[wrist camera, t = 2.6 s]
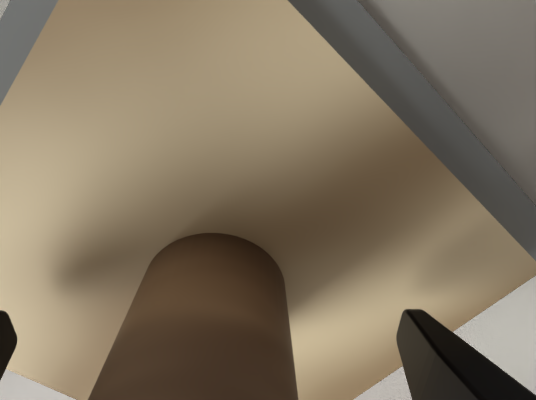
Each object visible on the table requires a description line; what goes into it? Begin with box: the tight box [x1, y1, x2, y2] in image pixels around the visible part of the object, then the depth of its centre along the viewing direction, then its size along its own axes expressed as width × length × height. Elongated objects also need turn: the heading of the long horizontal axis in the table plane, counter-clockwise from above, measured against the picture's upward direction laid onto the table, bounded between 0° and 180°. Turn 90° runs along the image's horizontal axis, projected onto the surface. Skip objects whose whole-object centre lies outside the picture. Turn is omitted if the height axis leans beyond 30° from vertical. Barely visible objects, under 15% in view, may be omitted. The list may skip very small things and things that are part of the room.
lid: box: [0, 0, 536, 400], centre depth 7 cm, size 12×12×6 cm
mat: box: [0, 0, 536, 261], centre depth 10 cm, size 14×14×1 cm
